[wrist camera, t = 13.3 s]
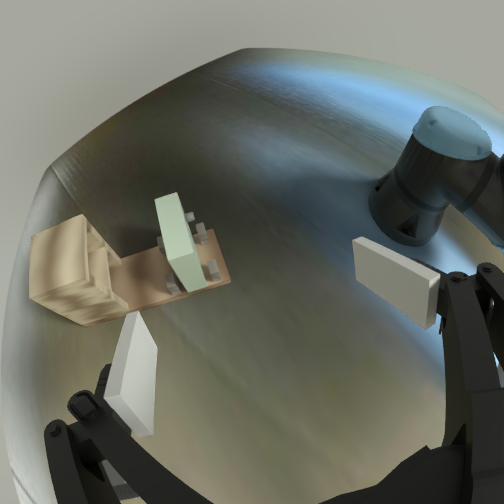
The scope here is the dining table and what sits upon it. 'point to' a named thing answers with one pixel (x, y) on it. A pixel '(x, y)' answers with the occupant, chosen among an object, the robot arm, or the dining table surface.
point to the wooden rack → (110, 273)
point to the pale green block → (180, 242)
